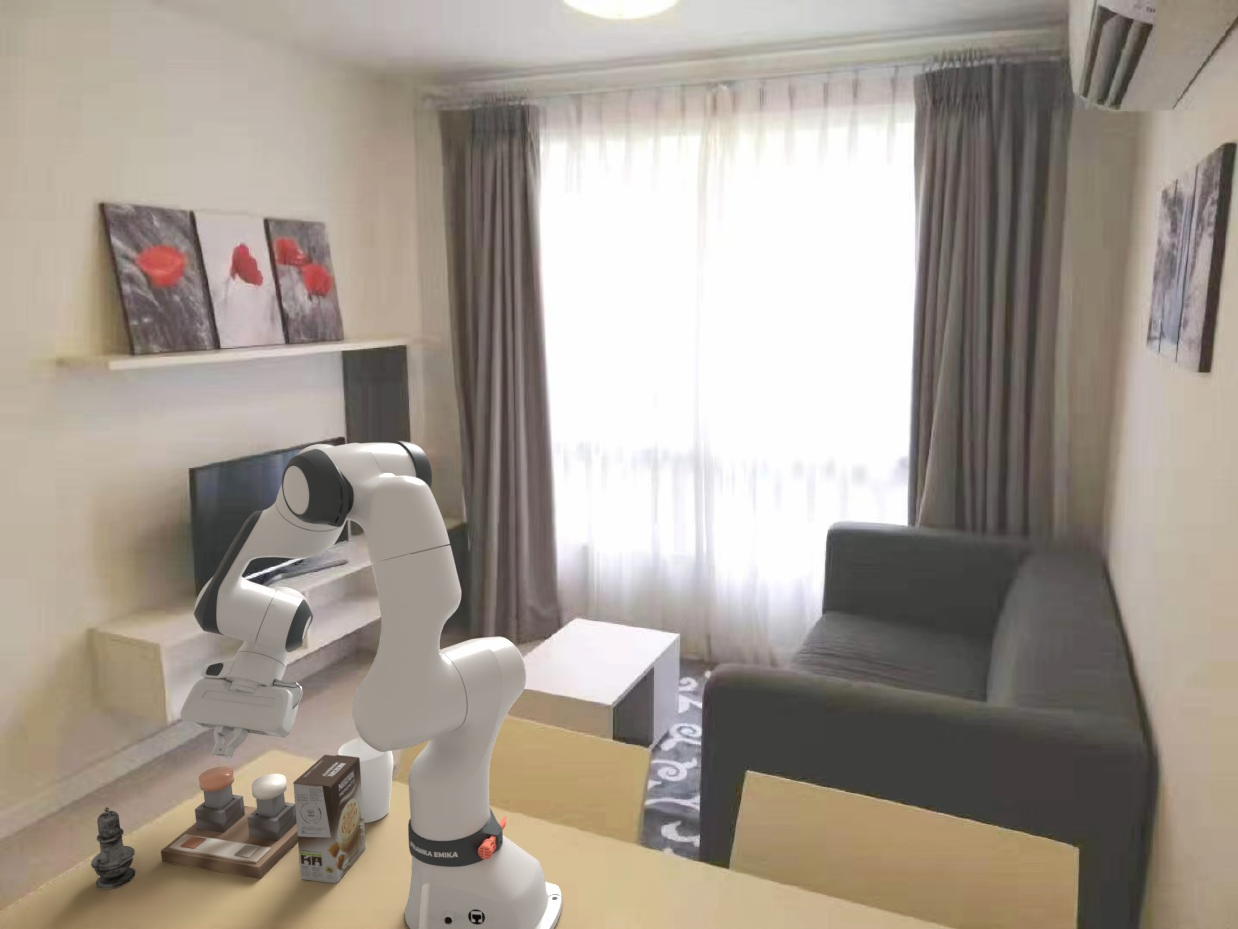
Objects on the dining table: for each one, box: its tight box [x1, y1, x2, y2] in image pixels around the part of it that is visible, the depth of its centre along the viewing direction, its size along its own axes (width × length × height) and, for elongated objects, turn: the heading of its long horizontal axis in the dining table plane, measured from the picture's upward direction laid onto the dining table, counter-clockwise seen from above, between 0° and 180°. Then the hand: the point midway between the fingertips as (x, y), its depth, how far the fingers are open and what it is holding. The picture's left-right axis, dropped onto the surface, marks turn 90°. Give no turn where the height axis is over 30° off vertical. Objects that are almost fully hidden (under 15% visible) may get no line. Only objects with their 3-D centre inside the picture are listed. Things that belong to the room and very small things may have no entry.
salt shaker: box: [90, 806, 136, 891], centre depth 134 cm, size 6×6×12 cm
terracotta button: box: [198, 766, 235, 810], centre depth 145 cm, size 5×5×5 cm
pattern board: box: [160, 794, 298, 880], centre depth 143 cm, size 18×14×6 cm
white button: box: [251, 773, 288, 818], centre depth 142 cm, size 5×5×5 cm
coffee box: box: [292, 754, 366, 884], centre depth 136 cm, size 9×6×16 cm
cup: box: [337, 737, 394, 824], centre depth 150 cm, size 9×9×12 cm
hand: (221, 756), depth 146 cm, fingers closed
